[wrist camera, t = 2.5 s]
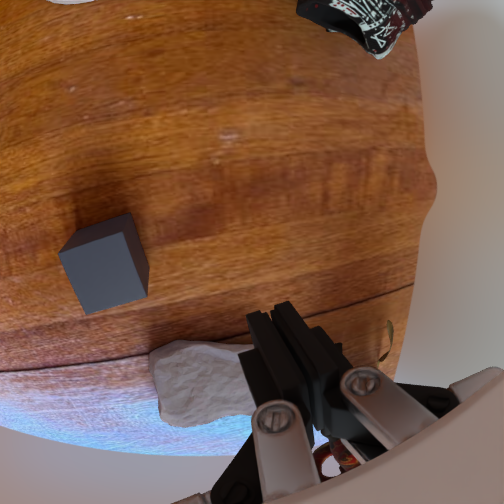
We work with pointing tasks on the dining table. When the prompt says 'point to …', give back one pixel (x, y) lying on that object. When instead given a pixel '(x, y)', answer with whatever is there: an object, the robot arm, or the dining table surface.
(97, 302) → the slate block
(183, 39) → the dining table surface
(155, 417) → the dining table surface
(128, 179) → the dining table surface
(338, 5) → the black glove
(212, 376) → the stone block
